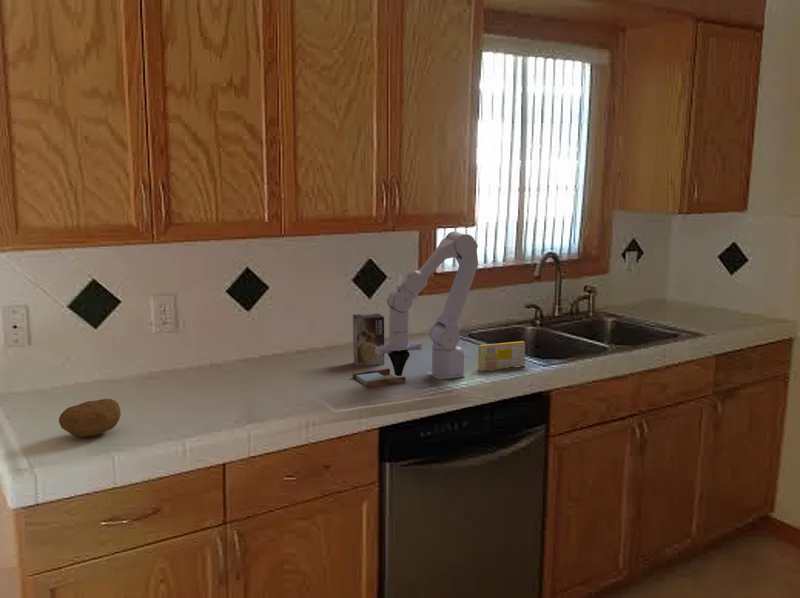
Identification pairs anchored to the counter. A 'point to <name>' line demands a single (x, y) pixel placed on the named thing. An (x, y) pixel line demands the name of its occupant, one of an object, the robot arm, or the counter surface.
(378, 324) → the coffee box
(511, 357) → the candy box
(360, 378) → the cover plate
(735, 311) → the counter surface
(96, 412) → the potato
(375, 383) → the tray
